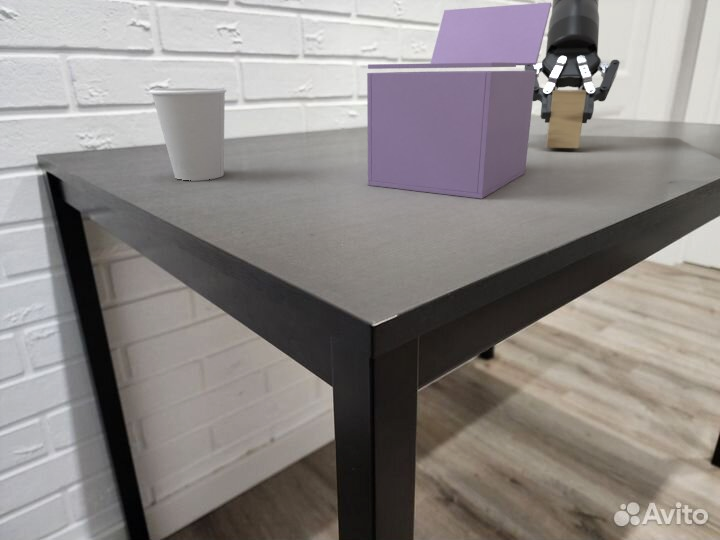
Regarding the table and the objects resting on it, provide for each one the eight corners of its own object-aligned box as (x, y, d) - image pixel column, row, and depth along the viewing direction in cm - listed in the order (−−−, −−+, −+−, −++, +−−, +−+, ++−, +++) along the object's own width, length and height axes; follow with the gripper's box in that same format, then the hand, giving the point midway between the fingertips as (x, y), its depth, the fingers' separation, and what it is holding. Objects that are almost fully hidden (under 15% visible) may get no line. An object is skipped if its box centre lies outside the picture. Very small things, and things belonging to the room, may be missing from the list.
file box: (426, 164, 68) (430, 64, 64) (525, 173, 62) (536, 62, 57) (367, 185, 56) (366, 64, 52) (482, 199, 50) (492, 62, 45)
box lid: (429, 64, 63) (430, 66, 64) (535, 63, 57) (536, 65, 57) (444, 9, 64) (445, 11, 64) (551, 2, 58) (551, 4, 58)
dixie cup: (189, 168, 67) (178, 87, 63) (246, 171, 65) (239, 87, 61) (147, 181, 59) (132, 90, 56) (211, 184, 57) (200, 90, 54)
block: (546, 143, 81) (552, 89, 78) (577, 144, 80) (584, 89, 77) (546, 147, 77) (552, 91, 74) (578, 148, 76) (586, 90, 73)
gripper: (527, 15, 80) (516, 101, 74) (627, 11, 76) (625, 101, 70) (524, 53, 87) (514, 134, 81) (617, 50, 83) (614, 136, 77)
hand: (566, 118), depth 75 cm, fingers closed on block, 4 cm apart
